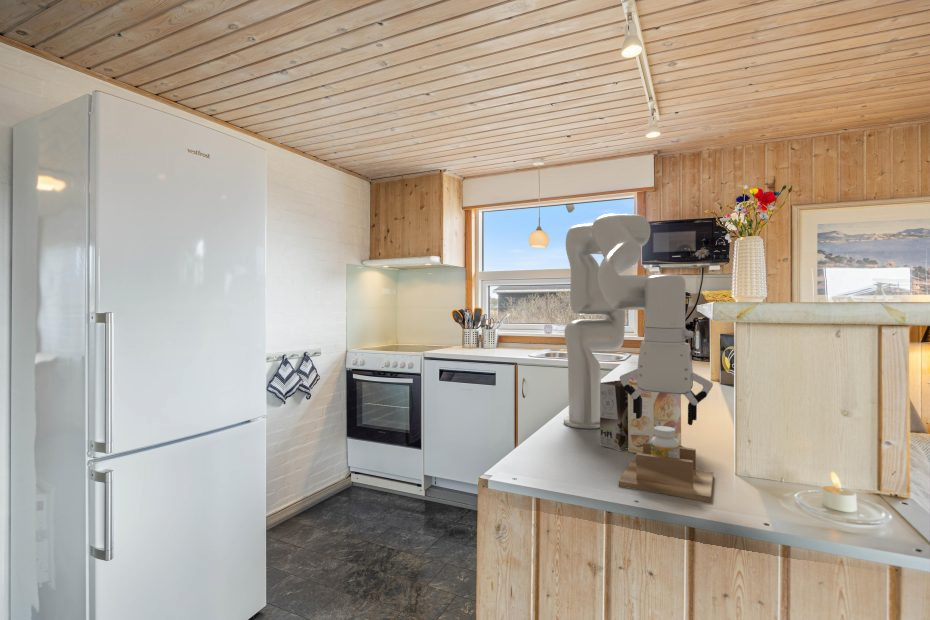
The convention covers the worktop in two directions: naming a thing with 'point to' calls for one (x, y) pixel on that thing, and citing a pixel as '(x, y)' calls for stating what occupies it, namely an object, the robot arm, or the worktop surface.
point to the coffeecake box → (652, 417)
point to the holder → (668, 475)
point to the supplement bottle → (665, 442)
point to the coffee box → (613, 415)
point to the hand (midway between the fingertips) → (664, 420)
